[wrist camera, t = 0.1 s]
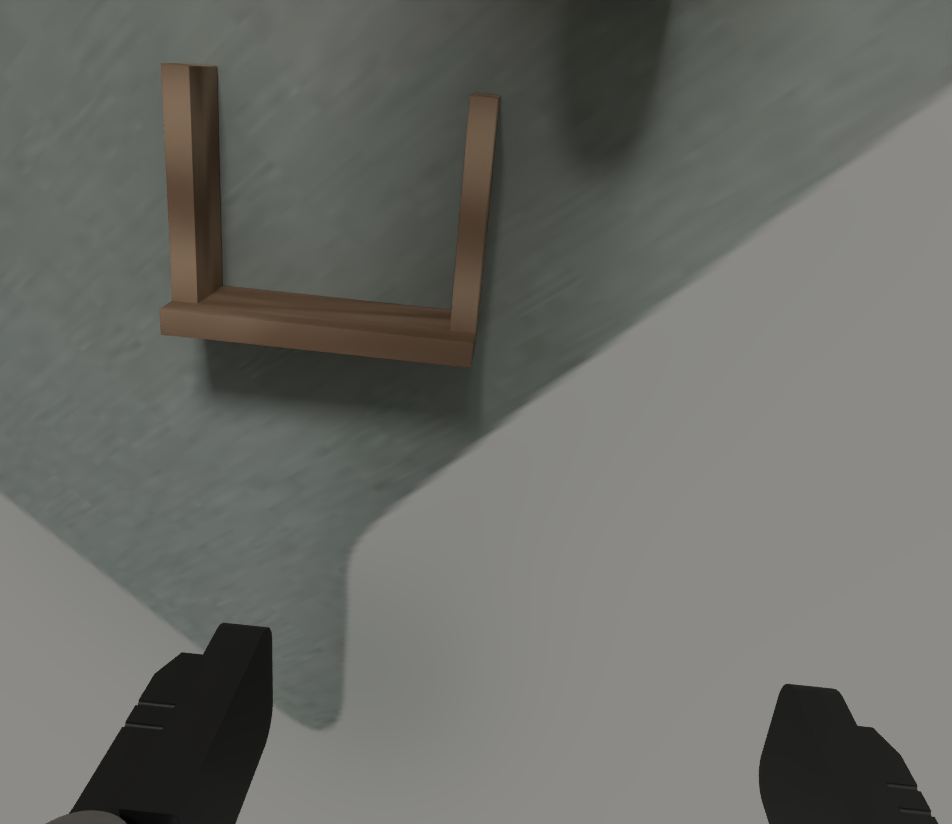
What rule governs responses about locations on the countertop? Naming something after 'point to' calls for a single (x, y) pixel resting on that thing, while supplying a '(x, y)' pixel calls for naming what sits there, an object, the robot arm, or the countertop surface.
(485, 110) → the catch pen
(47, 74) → the countertop surface
